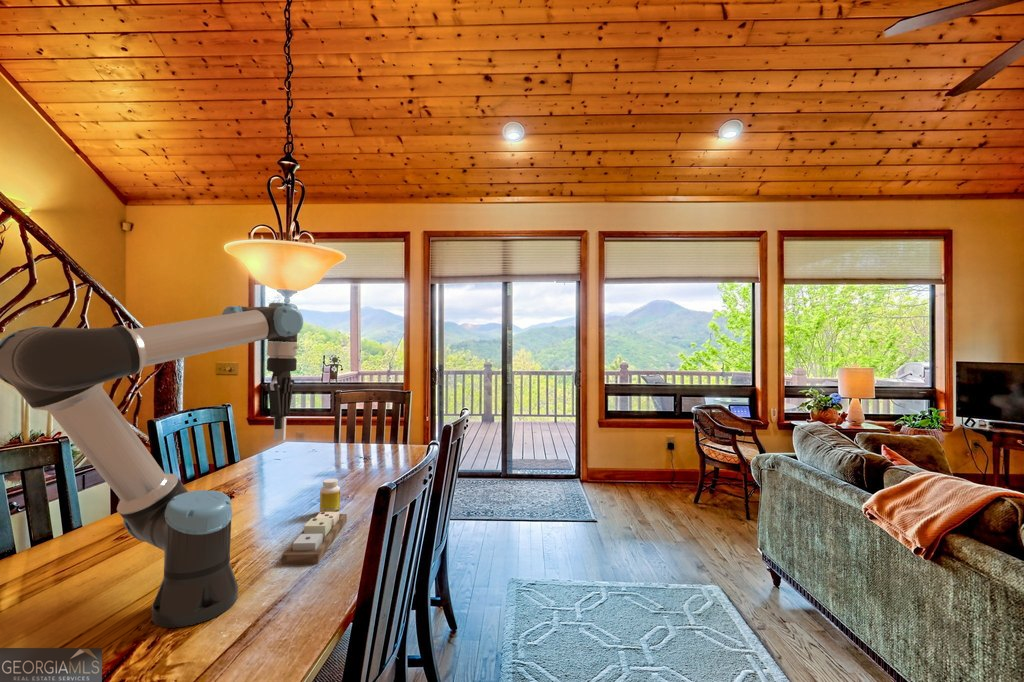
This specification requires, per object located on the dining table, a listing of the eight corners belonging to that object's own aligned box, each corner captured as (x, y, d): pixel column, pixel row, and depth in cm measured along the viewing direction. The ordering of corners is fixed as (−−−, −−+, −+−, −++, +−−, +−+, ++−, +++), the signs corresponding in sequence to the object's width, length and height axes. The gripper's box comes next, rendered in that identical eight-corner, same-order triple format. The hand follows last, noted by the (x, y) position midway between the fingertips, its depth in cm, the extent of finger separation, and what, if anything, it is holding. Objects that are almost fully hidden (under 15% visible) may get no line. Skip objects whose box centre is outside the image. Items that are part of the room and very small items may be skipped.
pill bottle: (342, 513, 148) (343, 480, 148) (324, 518, 143) (325, 484, 143) (334, 508, 152) (335, 476, 152) (316, 513, 148) (317, 480, 148)
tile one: (315, 555, 117) (315, 542, 117) (292, 555, 116) (292, 542, 116) (322, 545, 122) (322, 532, 122) (300, 545, 122) (301, 533, 122)
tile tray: (317, 563, 114) (318, 554, 114) (281, 564, 113) (282, 554, 113) (346, 521, 141) (346, 514, 141) (317, 522, 140) (317, 514, 140)
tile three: (333, 529, 133) (333, 518, 133) (313, 529, 132) (313, 518, 132) (339, 521, 138) (339, 511, 138) (320, 522, 138) (320, 511, 138)
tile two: (325, 537, 125) (325, 525, 125) (303, 537, 124) (304, 525, 124) (331, 528, 130) (331, 517, 130) (311, 528, 130) (311, 517, 130)
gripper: (286, 358, 119) (283, 445, 119) (304, 356, 132) (301, 435, 132) (257, 357, 119) (254, 445, 118) (278, 356, 132) (275, 435, 131)
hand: (279, 439), depth 125 cm, fingers closed
